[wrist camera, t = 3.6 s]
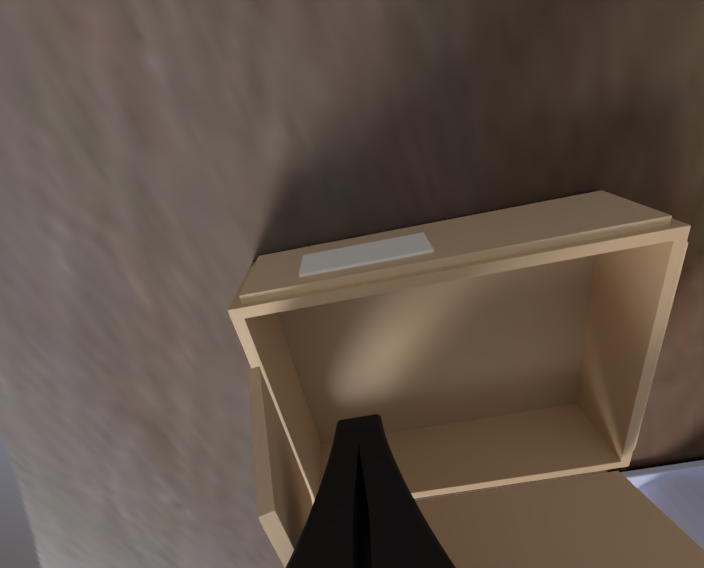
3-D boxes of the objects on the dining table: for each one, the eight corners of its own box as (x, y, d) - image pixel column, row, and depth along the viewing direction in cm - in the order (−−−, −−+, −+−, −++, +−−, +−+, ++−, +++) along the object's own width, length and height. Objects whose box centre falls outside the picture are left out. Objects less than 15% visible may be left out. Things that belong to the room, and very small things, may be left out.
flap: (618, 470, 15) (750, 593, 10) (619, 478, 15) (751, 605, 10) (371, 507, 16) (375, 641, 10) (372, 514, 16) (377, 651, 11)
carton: (619, 182, 14) (705, 210, 10) (585, 402, 19) (636, 465, 16) (248, 253, 14) (223, 299, 11) (315, 445, 20) (311, 513, 16)
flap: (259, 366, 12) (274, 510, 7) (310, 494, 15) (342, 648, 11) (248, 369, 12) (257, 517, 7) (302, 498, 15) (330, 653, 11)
